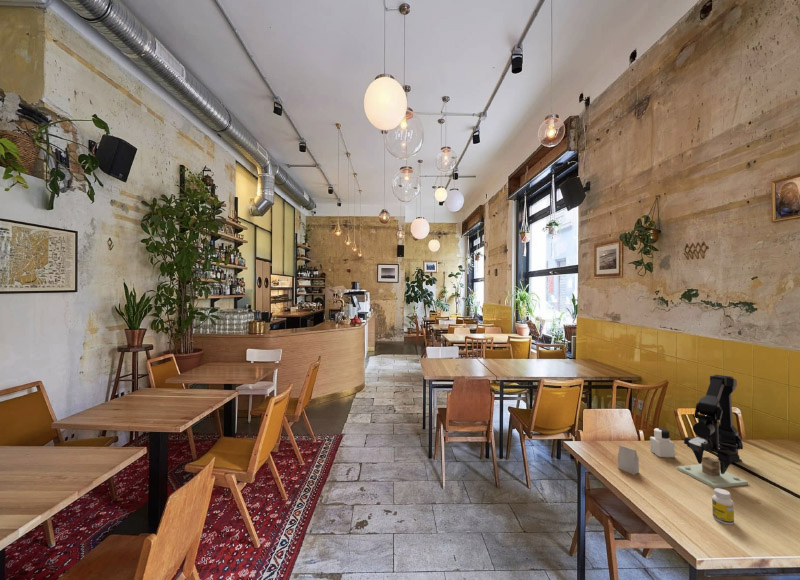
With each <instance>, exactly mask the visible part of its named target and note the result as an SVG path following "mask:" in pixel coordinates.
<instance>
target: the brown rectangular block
mask: <svg viewBox="0 0 800 580" xmlns="http://www.w3.org/2000/svg"><path fill="white" fill-rule="evenodd" d="M701 464H702V472H704V473H706V474H708V475H710V476H720V461H719V460H718V459H717V458H716V459H715V458H713V457H711V456H705V457H703V458H702V463H701Z"/></svg>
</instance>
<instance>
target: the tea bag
mask: <svg viewBox="0 0 800 580" xmlns="http://www.w3.org/2000/svg"><path fill="white" fill-rule="evenodd" d="M617 453H618V454H617V467H618V469H619V470H621V471H623V472H626V473H629V474H632V475H633V476H635V475H637V474H639V473H640V466H639V465H640V463H639V456H638V453H637V450H636V449H633V448H630V447H627V446H625V445H622V444H620V445H619V448H618V452H617Z"/></svg>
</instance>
